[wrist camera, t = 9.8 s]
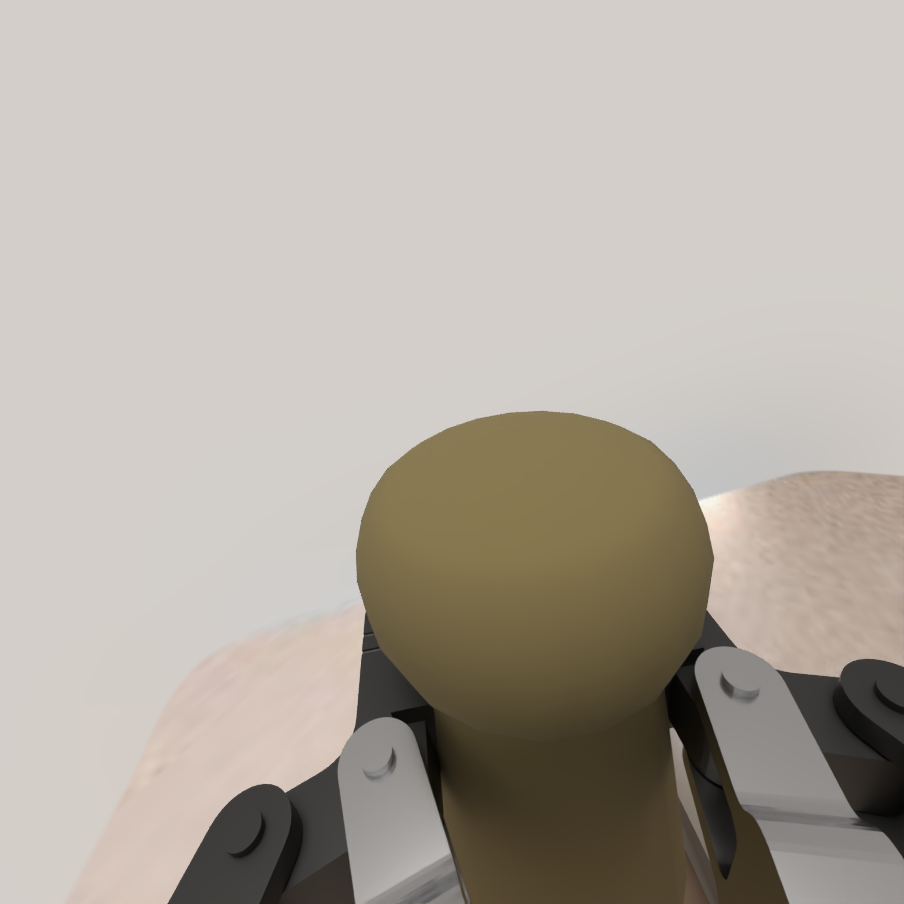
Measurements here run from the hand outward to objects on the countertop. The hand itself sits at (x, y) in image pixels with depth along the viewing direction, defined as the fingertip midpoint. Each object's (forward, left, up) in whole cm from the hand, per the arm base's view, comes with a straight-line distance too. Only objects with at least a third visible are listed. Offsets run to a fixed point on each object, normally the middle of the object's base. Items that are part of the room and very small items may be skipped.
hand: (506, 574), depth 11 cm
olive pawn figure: (0, +3, -6) cm, 7 cm away
